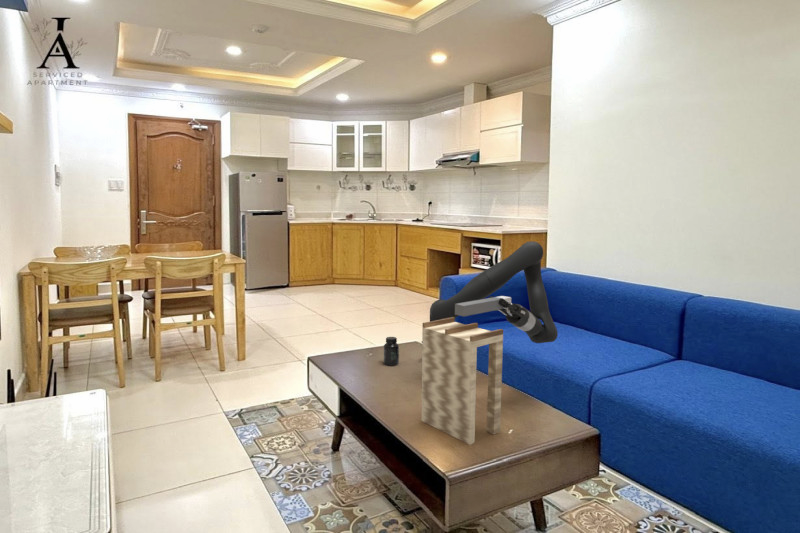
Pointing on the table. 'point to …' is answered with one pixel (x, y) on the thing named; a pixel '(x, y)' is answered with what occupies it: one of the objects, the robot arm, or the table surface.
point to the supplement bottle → (391, 352)
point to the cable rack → (458, 377)
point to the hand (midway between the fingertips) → (495, 299)
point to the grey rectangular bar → (479, 306)
